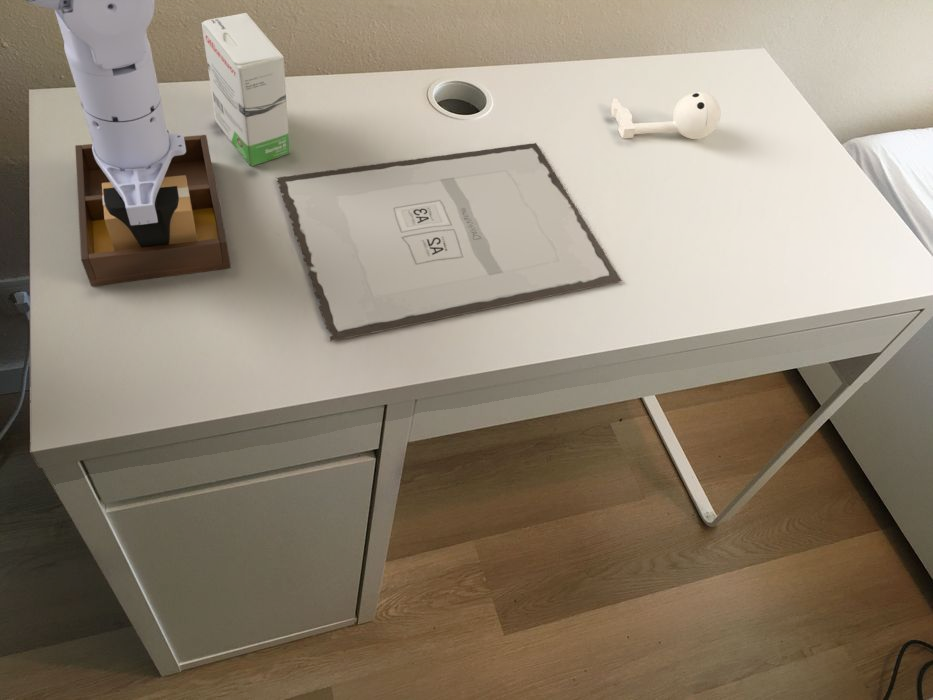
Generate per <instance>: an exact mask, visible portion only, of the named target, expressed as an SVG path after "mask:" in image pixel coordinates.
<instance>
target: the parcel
mask: <svg viewBox="0 0 933 700" xmlns="http://www.w3.org/2000/svg"><path fill="white" fill-rule="evenodd" d="M171 186H177V189H178V195H179V202H178V207H177V209H176V210H175V211H174V213H173V215H172V218H171V221H170V240H169V244H176V243H185V242H193V241H198V240H197V234H196V228H195V222H194V216H193V210H192V205H191V200H190V195H189V190H188V184H187V179H186V175H183V176H172V177H164V179H163V181H162V184H161V186H160V188H161V187H171ZM104 188H114V186H113V185H112V183H111V182H108V183H102V193H103V189H104ZM102 199H103V206H104V219H105V223H106V226H107V229H108V232H109V235H110V238H111V241H112V244H113V247H114V251H118V250H126V249H135V248H142V247H141V246H140V244H139V243H138V242H137V240H136V238H135V237H134V235H133V234H132V232H131V231H130V230H129V228H128V227H127V226H126V225H125V224H124V223H123V222H122V221H120V220H119V219H118V218H116V217H114V216H112V215H110V213H109V212H108V210H107V208H106V206H105V203H104V193H103V196H102Z"/></svg>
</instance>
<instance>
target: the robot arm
mask: <svg viewBox="0 0 933 700" xmlns="http://www.w3.org/2000/svg"><path fill="white" fill-rule="evenodd" d="M24 2H27V3H29V4H32V5H34V6H38V7H42V8H47V9H50V10H54V13H55V16H56V20H57V22H58V26H59V29H60V33H61V36H62V39H63V47H64V53H65V56H66V59H67V63H68V66H69V70H70V72H71V73H70V74H71V76H72V79H73V83H74V85H75V86H74V87H75V89H76V92H77V95H78V99H79V102H80V105H81V106H80V107H81V109H82V113H83V115H84V119H85V122H86V125H87V128H88V132H89V135H90V138H91V142H92V143H91V144H92V150H93V154H94V158H95V160H96V162H97V164H98V165H99V167H100V168H101V169H102V171H103V172H104V174H105V175H106V176H107V178H108V179H109V181H110V182H111V183H112V185H113V186H114V188H104V189H103V193H104V203H105V206H106V208H107V210H108V212H109V213H110V215H112V216H114V217H116V218H118V219H119V220H120V221H122V222H123V223H124V224H125V225H126V226H127V227H128V228H129V230H130V231H131V232H132V234H133V235H134V237H135V238H136V240H137V242H138V243H139V244H140V246H141V247H142V248H143V247H151V246H160V245H168V244H169V240H170V221H171V218H172V215H173V213H174V211H175V210H176V209H177V207H178V202H179V195H178V189H177V186H171V187H161V188H160V186H161V184H162V181H163V179H164V176H165V174H166V171H167V169H168V167H169V164H170V162H171V159H172V158H173V157H174V156H179V155H184V154H185V153H186V147H185V141H184V137H185V136H184V135H183V134H181V133H178V132H177V133H176V132H175V133H170V132H169V129H168V127H167V126H168V125H167V123H166V118H165V113H164V112H165V111H164V108H163V102H162V98H161V93H160V87H159V83H158V78H157V73H156V69H155V63H154V58H153V53H152V48H151V43H150V40H149V39H148V34H147V29H148V27H149V26H150V24H151V22H152V20H153V17H154V14H155V7H156V6H155V5H156V3H155V2H156V1H155V0H24Z"/></svg>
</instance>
